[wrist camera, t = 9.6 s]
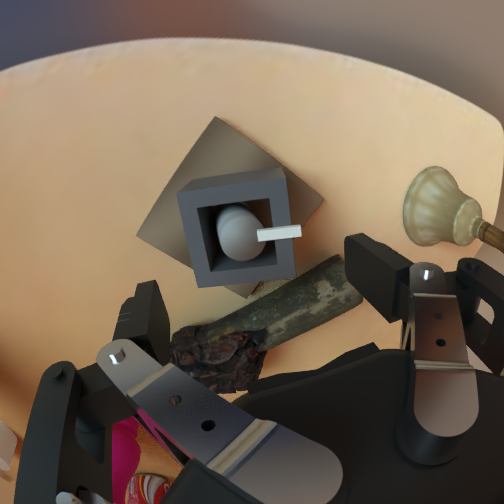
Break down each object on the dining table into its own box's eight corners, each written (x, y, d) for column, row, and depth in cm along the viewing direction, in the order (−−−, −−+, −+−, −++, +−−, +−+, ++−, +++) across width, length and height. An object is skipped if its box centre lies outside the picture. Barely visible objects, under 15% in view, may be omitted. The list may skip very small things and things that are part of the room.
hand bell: (466, 198, 26) (581, 253, 12) (429, 258, 28) (537, 340, 14) (431, 148, 23) (577, 192, 9) (388, 217, 25) (529, 306, 11)
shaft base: (137, 231, 21) (122, 265, 16) (214, 117, 19) (223, 110, 14) (244, 292, 25) (259, 336, 20) (318, 195, 23) (356, 217, 18)
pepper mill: (118, 395, 27) (108, 569, 9) (153, 429, 30) (160, 578, 12) (73, 406, 27) (49, 555, 9) (108, 437, 30) (102, 571, 12)
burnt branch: (331, 245, 25) (364, 274, 20) (347, 301, 28) (376, 335, 23) (149, 331, 25) (144, 376, 20) (186, 376, 28) (190, 420, 23)
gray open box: (191, 179, 20) (174, 194, 16) (288, 166, 19) (295, 177, 15) (208, 259, 22) (197, 290, 18) (297, 249, 21) (304, 279, 18)
